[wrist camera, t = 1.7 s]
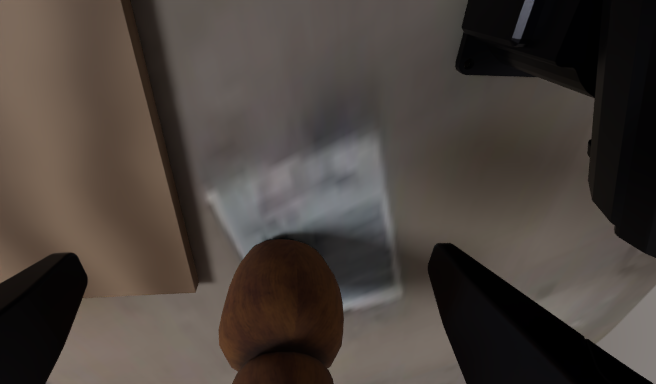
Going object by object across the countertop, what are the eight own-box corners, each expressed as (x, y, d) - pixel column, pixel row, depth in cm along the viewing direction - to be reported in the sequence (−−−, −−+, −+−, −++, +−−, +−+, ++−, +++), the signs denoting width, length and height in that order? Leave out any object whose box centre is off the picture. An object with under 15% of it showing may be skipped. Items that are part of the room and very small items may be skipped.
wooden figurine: (227, 278, 23) (154, 641, 10) (243, 216, 20) (168, 616, 7) (316, 291, 24) (348, 611, 12) (343, 236, 22) (420, 581, 9)
